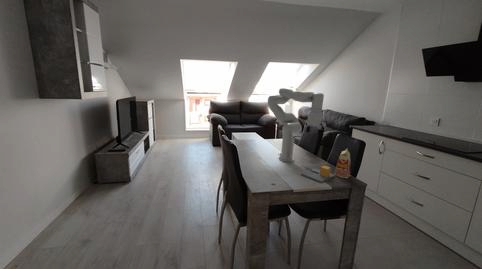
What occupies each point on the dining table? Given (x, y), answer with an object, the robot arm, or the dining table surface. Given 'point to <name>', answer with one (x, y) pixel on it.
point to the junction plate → (316, 175)
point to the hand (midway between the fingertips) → (313, 133)
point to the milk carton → (343, 165)
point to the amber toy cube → (325, 171)
